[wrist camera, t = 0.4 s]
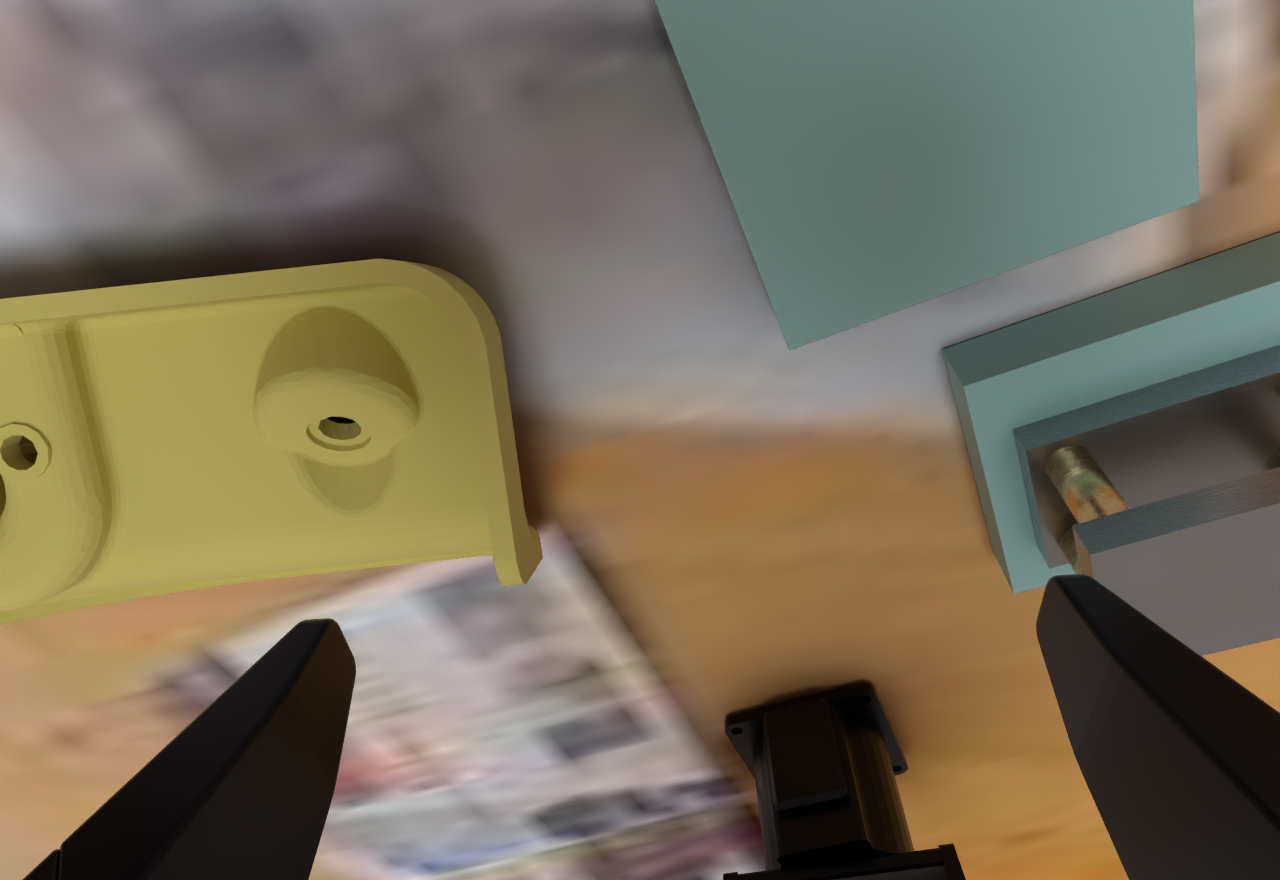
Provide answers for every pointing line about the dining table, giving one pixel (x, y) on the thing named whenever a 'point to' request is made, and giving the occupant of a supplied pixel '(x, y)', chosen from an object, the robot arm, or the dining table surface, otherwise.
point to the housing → (1170, 499)
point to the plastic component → (252, 433)
